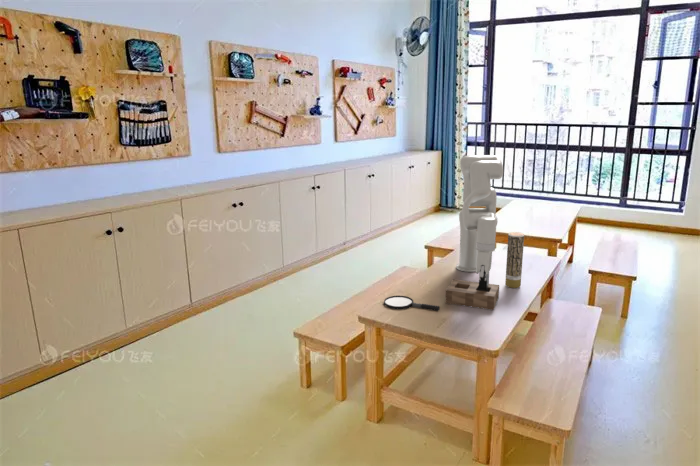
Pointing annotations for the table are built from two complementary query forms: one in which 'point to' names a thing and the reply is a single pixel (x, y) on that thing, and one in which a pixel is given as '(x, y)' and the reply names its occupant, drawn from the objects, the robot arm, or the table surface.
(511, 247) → the bark pattern cylinder
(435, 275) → the table surface
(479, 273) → the steel pin
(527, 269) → the table surface
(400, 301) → the magnifying glass
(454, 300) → the brown rectangular block
